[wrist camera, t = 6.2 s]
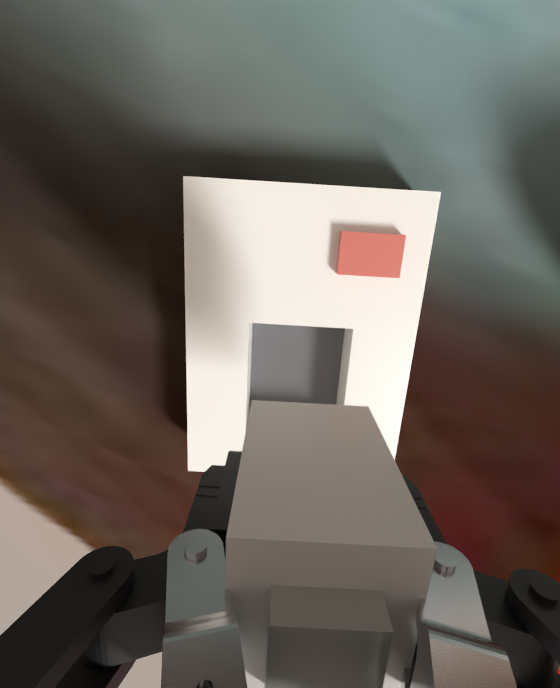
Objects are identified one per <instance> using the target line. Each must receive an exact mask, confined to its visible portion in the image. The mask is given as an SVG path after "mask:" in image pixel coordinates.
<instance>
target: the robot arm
mask: <svg viewBox="0 0 560 688" xmlns="http://www.w3.org/2000/svg"><path fill="white" fill-rule="evenodd" d="M241 455H242V451H229V452H228V456H227V460H226V464H225V466H220V465H211V466H210V467H209V468H208V469H207V470H206V471H205V472H204V473H203V474H202V477H201V480H200V483H199V488H198V489H197V492H196V497H195V498H194V501H193V504H192V507H191V510H190V513H189V516H188V519H187V522H186V525H185V528H184V531H183V533H182V534H181V535H179V536H178V537H176V538H175V539H174V540H173V542H172V543H171V545H170V546H169V549H168V550H166V551H164V552H162V553H160V554H157V555H153V556H149V557H145V558H140V559H136V560H133V556H132V554H131V553H130V552H129V551H128V550H127V549H125V548H122V547H119V546H107V547H102V548H99V549H96V550H94V551H92V552H90V553H88V554H87V555H85V556H84V557H83V558H81V559H80V560H79V561H78V562H77V563H76V564H75V565H74V566H73V567H72V568H71V569H70V570H69V571H68V572H66V573H65V574H64V576H62V577H61V578H60V579H59V580H58V581H57V582H56V583H55V584H54V585H53V586H52V587H51V588H50V589H49V590H48V591H47V592H46V593H45V594H43V595H42V596H41V597H40V598H39V599H38V600H37V601H36V602H35V603H34V604H33V605H32V606H31V607H30V608H29V609H28V610H27V611H26V612H25V613H23V614H22V615H21V616H20V617H19V618H18V619H17V620H16V621H15V622H14V623H13V624H12V625H11V626H10V627H9V628H8V629H7V630H6V631H5V632H4V633H3V634H1V635H0V688H118V687H119V685H120V684H121V682H122V681H123V679H124V678H125V676H126V674H127V673H128V671H129V670H130V669H131V667H132V666H133V664H134V662H135V660H136V659H139V658H142V657H146V656H149V655H152V654H155V653H159V652H162V676H161V677H162V678H161V688H247V681H246V675H245V668H244V661H243V655H242V648H241V641H240V634H239V628H238V622H237V617H236V614H233V611H232V604H231V597H230V590H229V589H227V588H225V562H226V535H227V529H228V524H229V519H230V513H231V508H232V503H233V497H234V492H235V487H236V481H237V476H238V471H239V465H240V460H241ZM402 477H403V479H404V481H405V483H406V485H407V487H408V489H409V491H410V493H411V495H412V497H413V499H414V502H415V504H416V506H417V508H418V510H419V512H420V514H421V516H422V518H423V520H424V522H425V524H426V526H427V528H428V530H429V533H430V535H431V537H432V539H433V541H434V543H435V545H436V547H437V552H436V557H435V561H434V566H433V570H432V575H431V579H430V584H429V588H428V593H427V597H426V599H420V598H419V601H418V606H417V611H416V629H417V642H416V647H415V651H414V656H413V660H412V665H411V668H404V671H403V676H402V680H401V688H560V675H559V674H558V670H559V668H560V583H558V582H557V581H556V580H554V579H552V578H551V577H549V576H547V575H545V574H543V573H540V572H538V571H535V570H530V569H518V570H515V571H514V572H513V573H512V574H511V576H510V579H509V582H508V581H505V580H502V579H499V578H496V577H493V576H489V575H486V574H483V573H480V572H478V571H476V570H474V569H473V568H472V566H471V564H470V562H469V561H468V559H467V558H466V557H465V556H464V555H463V554H462V553H461V552H459V551H458V550H456V549H455V548H453V547H451V546H449V545H447V544H446V542H445V540H444V538H443V536H442V534H441V532H440V530H439V528H438V527H437V525H436V523H435V521H434V519H433V517H432V515H431V513H430V511H429V510H428V507H427V505H426V503H425V502H424V500H423V498H422V496H421V494H420V492H419V490H418V488H417V486H416V485H415V484H413V483H412V482H411V481H410V480H409V479H408V478H407V477H406V476H402Z"/></svg>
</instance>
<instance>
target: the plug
mask: <svg viewBox="0 0 560 688" xmlns="http://www.w3.org/2000/svg"><path fill="white" fill-rule="evenodd" d="M436 552H437V547H436V545H435V543H434V541H433V539H432V537H431V535H430V533H429V530H428V528H427V526H426V524H425V522H424V520H423V518H422V516H421V514H420V512H419V510H418V508H417V506H416V504H415V502H414V499H413V497H412V495H411V493H410V491H409V489H408V487H407V485H406V483H405V481H404V479H403V477H402V475H401V473H400V471H399V469H398V466H397V464H396V462H395V460H394V458H393V456H392V454H391V452H390V450H389V448H388V446H387V444H386V442H385V440H384V438H383V436H382V433H381V431H380V429H379V427H378V425H377V423H376V421H375V419H374V417H373V415H372V413H371V411H370V409H369V407H368V406H351V405H333V404H315V403H296V402H278V401H260V400H252V402H251V407H250V412H249V418H248V423H247V428H246V433H245V439H244V444H243V449H242V455H241V460H240V465H239V471H238V476H237V481H236V487H235V492H234V497H233V503H232V508H231V513H230V519H229V524H228V529H227V535H226V562H225V588H227V589H229V590H230V597H231V604H232V611H233V614H236V617H237V622H238V628H239V634H240V641H241V648H242V655H243V661H244V668H245V675H246V681H247V688H401V680H402V676H403V671H404V668H411V665H412V660H413V656H414V651H415V647H416V642H417V629H416V611H417V606H418V601H419V598H420V599H426V597H427V593H428V588H429V584H430V579H431V575H432V570H433V566H434V561H435V557H436Z"/></svg>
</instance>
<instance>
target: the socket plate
mask: <svg viewBox="0 0 560 688" xmlns="http://www.w3.org/2000/svg"><path fill="white" fill-rule="evenodd" d="M440 195H441V192H432V191H416V190H400V189H384V188H368V187H352V186H336V185H320V184H303V183H287V182H271V181H255V180H239V179H223V178H207V177H191V176H183V202H184V261H185V320H186V379H187V438H188V471H201V472H205V471H206V470H207V469H208V468H209V467H210V466H211V465H220V466H225V464H226V460H227V456H228V452H229V451H242V449H243V444H244V439H245V433H246V428H247V423H248V418H249V412H250V407H251V402H252V400H260V401H278V402H296V403H315V404H333V405H351V406H368V407H369V409H370V411H371V413H372V415H373V417H374V419H375V421H376V423H377V425H378V427H379V429H380V431H381V433H382V436H383V438H384V440H385V442H386V444H387V446H388V448H389V450H390V452H391V454H392V456H393V458H394V460H395V455H396V449H397V444H398V438H399V432H400V426H401V420H402V415H403V409H404V403H405V397H406V392H407V386H408V380H409V374H410V369H411V363H412V357H413V351H414V345H415V340H416V334H417V328H418V322H419V317H420V311H421V305H422V299H423V293H424V288H425V282H426V276H427V270H428V265H429V259H430V253H431V247H432V242H433V236H434V230H435V224H436V218H437V213H438V207H439V201H440Z"/></svg>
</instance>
